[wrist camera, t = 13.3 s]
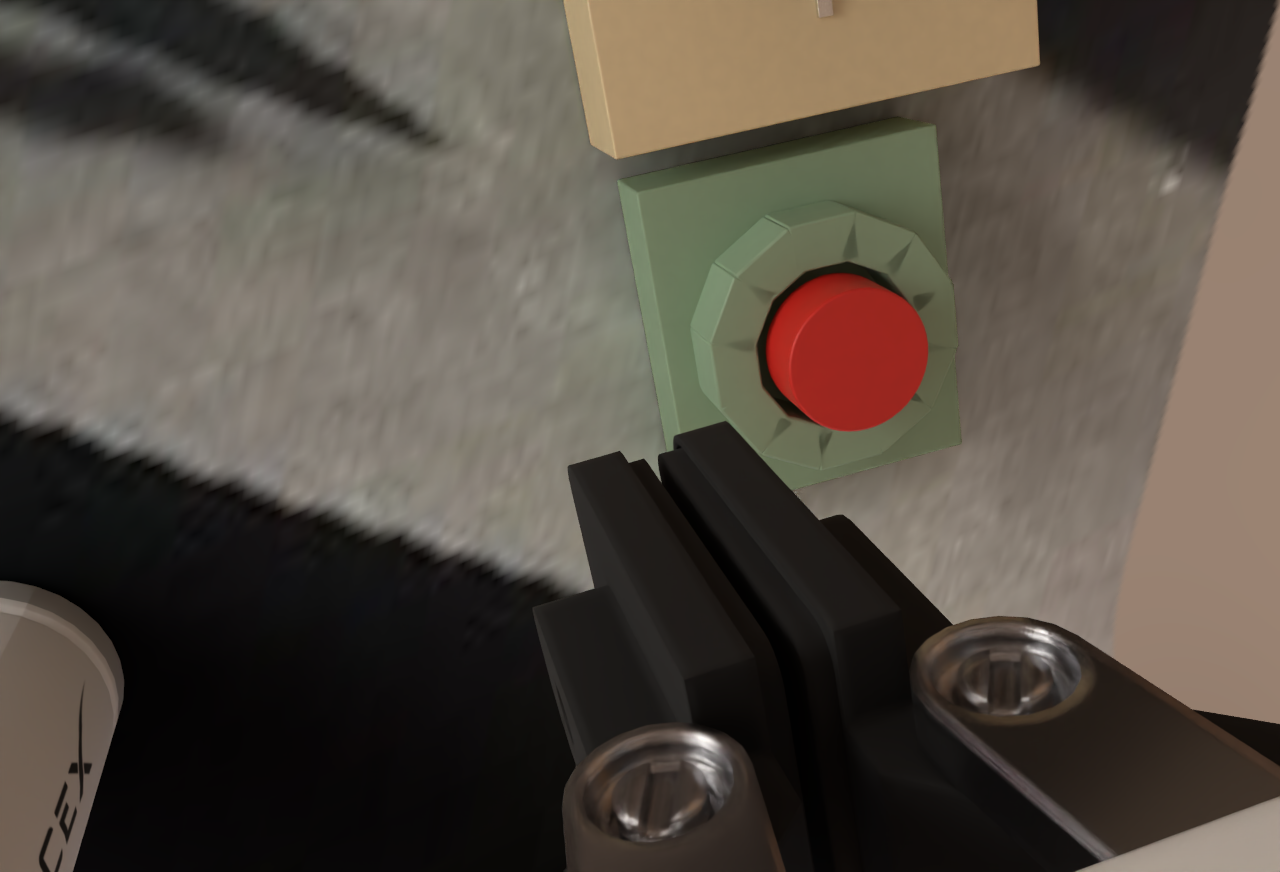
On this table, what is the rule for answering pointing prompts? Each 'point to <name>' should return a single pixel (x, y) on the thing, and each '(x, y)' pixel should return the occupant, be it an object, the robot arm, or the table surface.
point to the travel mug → (51, 725)
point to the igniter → (791, 285)
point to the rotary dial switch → (775, 60)
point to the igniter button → (847, 351)
